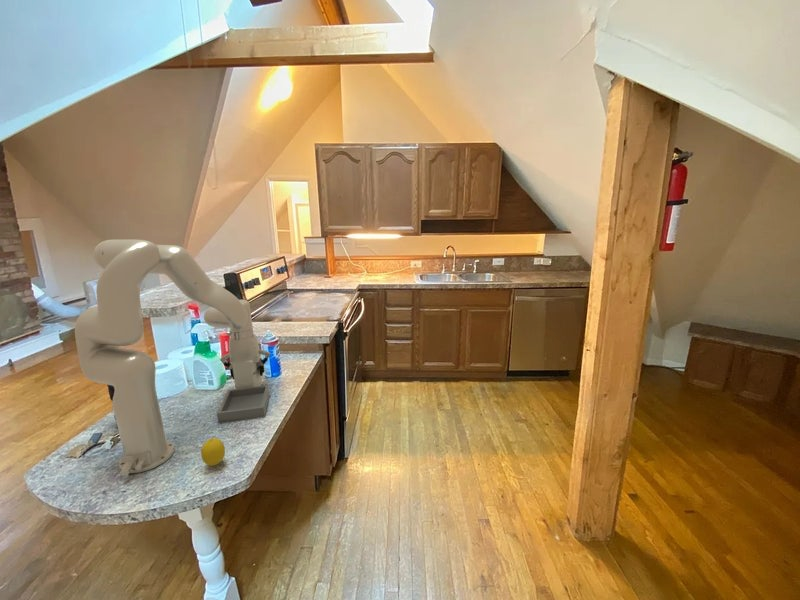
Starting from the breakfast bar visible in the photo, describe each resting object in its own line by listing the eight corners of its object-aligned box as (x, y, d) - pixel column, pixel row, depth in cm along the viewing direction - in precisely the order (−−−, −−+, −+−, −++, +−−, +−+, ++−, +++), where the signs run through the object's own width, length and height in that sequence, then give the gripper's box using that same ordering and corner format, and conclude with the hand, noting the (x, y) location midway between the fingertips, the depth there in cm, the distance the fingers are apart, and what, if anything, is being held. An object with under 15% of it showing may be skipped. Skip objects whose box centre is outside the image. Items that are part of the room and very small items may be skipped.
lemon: (201, 474, 92) (196, 447, 90) (206, 460, 98) (201, 434, 96) (225, 469, 94) (220, 443, 92) (228, 456, 99) (224, 430, 97)
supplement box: (255, 393, 133) (251, 362, 130) (235, 393, 133) (230, 362, 130) (262, 384, 140) (259, 354, 137) (244, 384, 140) (240, 354, 137)
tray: (264, 416, 118) (263, 407, 117) (218, 423, 115) (216, 413, 114) (269, 393, 133) (268, 384, 132) (229, 398, 130) (227, 389, 129)
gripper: (214, 339, 126) (221, 383, 130) (265, 334, 130) (271, 377, 134) (219, 332, 133) (226, 374, 137) (268, 328, 137) (273, 369, 141)
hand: (248, 376), depth 136 cm, fingers open, 9 cm apart
